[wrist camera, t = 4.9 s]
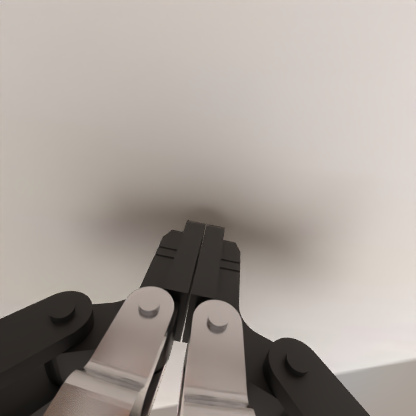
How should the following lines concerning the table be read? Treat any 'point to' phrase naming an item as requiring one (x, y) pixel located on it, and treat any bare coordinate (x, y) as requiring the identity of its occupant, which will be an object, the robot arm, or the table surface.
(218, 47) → the table surface
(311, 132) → the table surface
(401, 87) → the table surface
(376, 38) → the table surface
